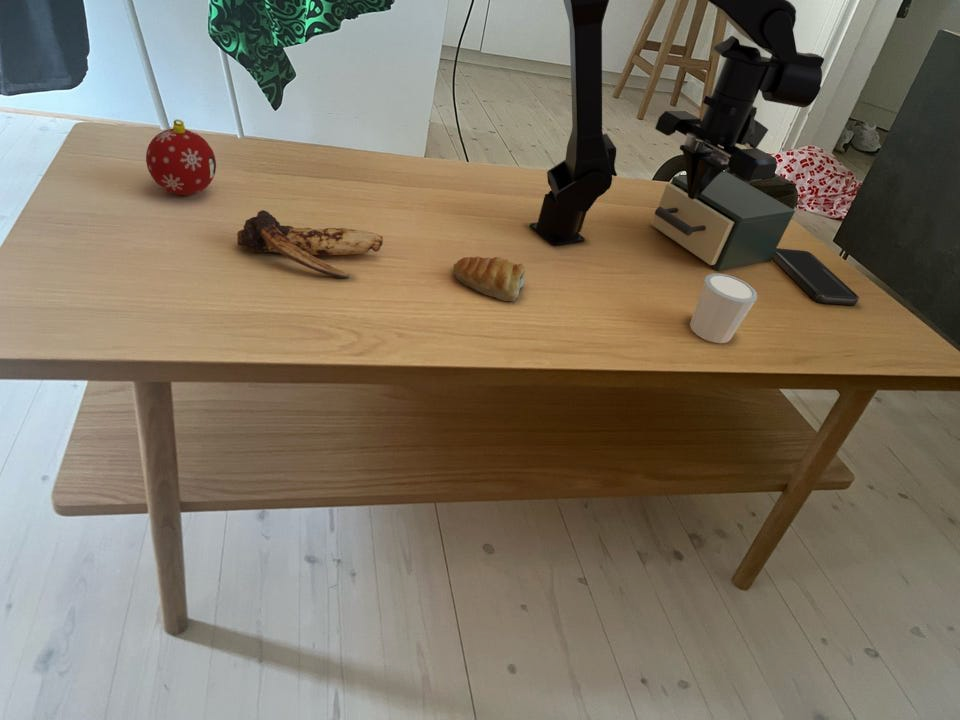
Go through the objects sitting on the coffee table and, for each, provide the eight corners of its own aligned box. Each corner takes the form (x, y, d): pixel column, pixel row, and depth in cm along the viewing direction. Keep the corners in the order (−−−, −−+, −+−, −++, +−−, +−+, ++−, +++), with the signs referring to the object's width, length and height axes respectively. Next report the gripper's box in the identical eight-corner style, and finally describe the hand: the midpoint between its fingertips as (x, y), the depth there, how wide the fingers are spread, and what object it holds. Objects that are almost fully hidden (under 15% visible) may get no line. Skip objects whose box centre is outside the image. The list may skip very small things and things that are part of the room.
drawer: (691, 269, 103) (709, 226, 98) (632, 227, 111) (647, 185, 107) (759, 255, 112) (779, 215, 107) (700, 218, 120) (716, 179, 116)
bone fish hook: (233, 277, 81) (385, 282, 85) (231, 242, 78) (389, 250, 82) (239, 236, 87) (379, 243, 92) (237, 203, 84) (382, 212, 89)
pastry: (446, 286, 87) (451, 260, 85) (458, 263, 93) (463, 238, 90) (516, 306, 87) (523, 280, 84) (524, 281, 92) (531, 257, 90)
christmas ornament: (172, 173, 97) (166, 102, 91) (228, 188, 97) (226, 119, 91) (135, 195, 90) (126, 121, 84) (196, 212, 90) (192, 138, 84)
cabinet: (718, 271, 106) (742, 218, 101) (653, 227, 115) (673, 176, 110) (770, 260, 113) (795, 210, 108) (706, 219, 122) (726, 171, 117)
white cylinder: (738, 351, 88) (761, 307, 84) (686, 337, 89) (707, 292, 84) (732, 324, 94) (754, 281, 90) (684, 310, 94) (703, 267, 90)
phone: (820, 296, 103) (770, 247, 114) (816, 302, 104) (767, 253, 115) (862, 299, 105) (809, 251, 116) (859, 305, 106) (806, 256, 117)
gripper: (823, 119, 93) (772, 222, 102) (721, 73, 104) (683, 169, 113) (774, 120, 87) (724, 229, 96) (672, 71, 98) (636, 173, 108)
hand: (692, 198), depth 104 cm, fingers closed
